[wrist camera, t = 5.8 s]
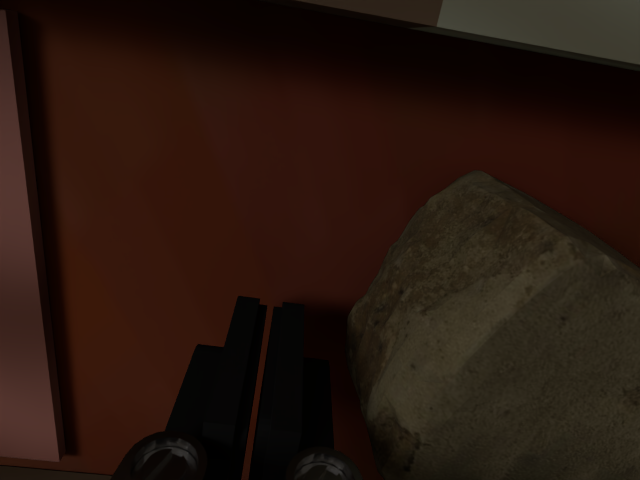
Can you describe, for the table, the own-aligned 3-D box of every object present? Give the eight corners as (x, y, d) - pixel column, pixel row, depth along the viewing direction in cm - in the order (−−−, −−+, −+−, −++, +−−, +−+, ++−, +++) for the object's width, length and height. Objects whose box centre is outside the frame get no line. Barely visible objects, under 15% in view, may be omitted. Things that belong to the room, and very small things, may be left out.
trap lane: (-724, -251, 7) (-1743, -529, 4) (1083, 105, 10) (1500, 144, 7) (-297, 459, 14) (-501, 602, 11) (702, 547, 17) (805, 682, 14)
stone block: (621, 457, 15) (755, 642, 11) (323, 321, 13) (328, 486, 8) (768, 333, 13) (1018, 498, 8) (444, 140, 11) (546, 223, 6)
